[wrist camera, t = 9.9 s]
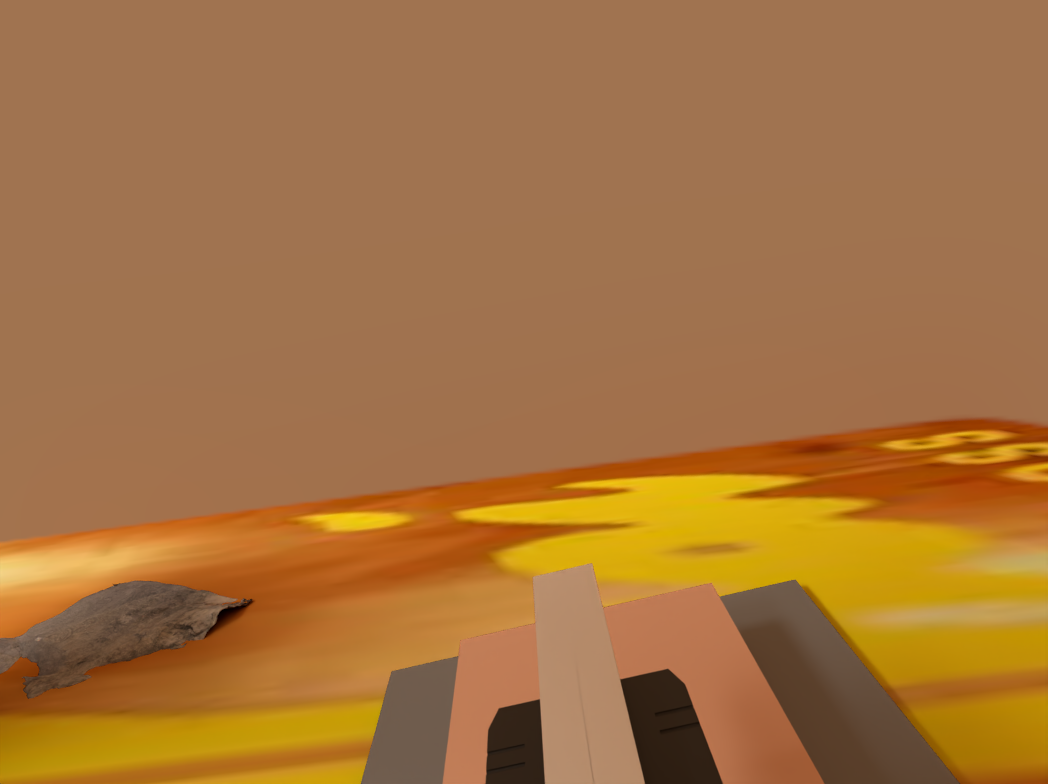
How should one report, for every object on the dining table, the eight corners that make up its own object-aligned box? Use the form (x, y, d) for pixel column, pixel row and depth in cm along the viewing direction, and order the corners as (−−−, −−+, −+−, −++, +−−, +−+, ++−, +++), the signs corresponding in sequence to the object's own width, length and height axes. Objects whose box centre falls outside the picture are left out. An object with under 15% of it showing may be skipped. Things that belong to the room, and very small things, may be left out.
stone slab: (-76, 668, 39) (83, 569, 47) (-61, 692, 40) (94, 589, 48) (98, 714, 31) (253, 583, 39) (114, 743, 31) (264, 608, 40)
